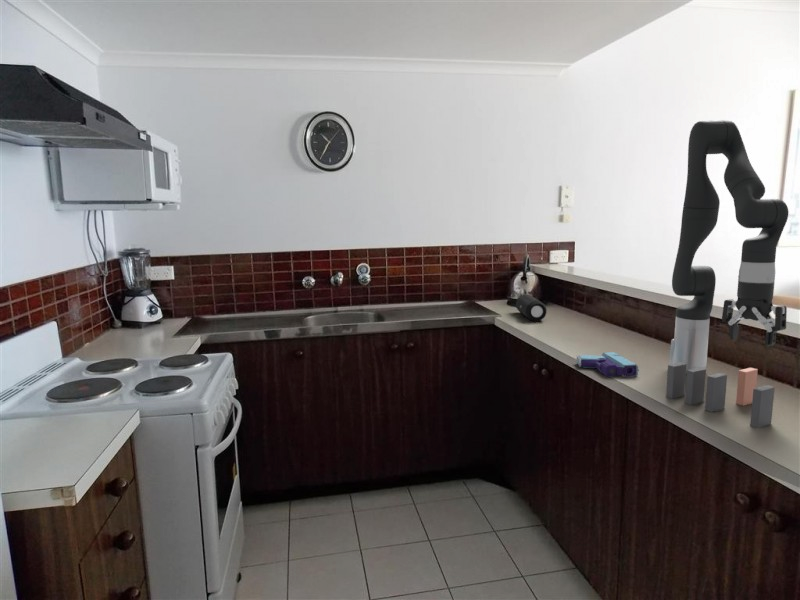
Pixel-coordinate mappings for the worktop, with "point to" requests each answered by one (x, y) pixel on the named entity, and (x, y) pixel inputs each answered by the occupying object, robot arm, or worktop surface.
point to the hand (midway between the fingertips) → (750, 342)
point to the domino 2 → (695, 386)
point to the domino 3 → (716, 392)
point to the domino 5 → (762, 406)
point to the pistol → (609, 364)
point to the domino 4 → (746, 386)
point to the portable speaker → (531, 307)
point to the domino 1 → (676, 380)
